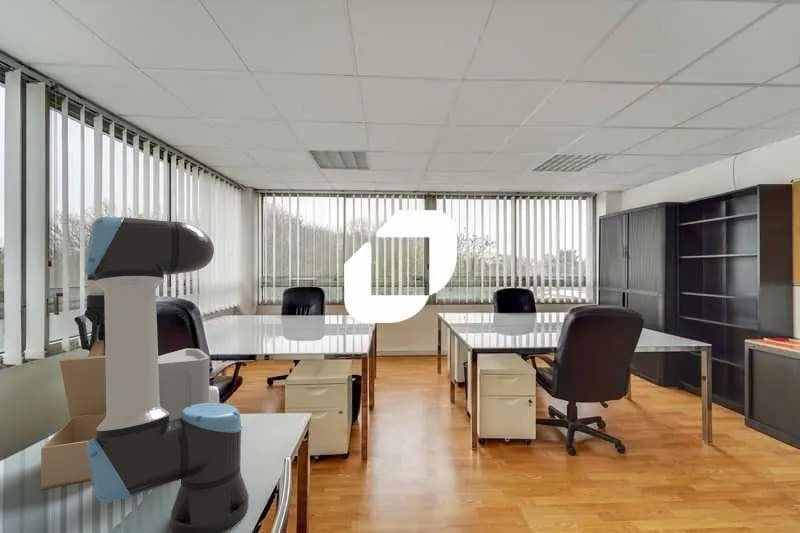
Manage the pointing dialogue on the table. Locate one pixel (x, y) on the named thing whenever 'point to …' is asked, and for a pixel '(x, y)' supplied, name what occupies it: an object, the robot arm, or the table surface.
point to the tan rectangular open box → (69, 452)
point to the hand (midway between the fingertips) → (102, 371)
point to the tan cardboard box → (86, 382)
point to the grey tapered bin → (183, 380)
